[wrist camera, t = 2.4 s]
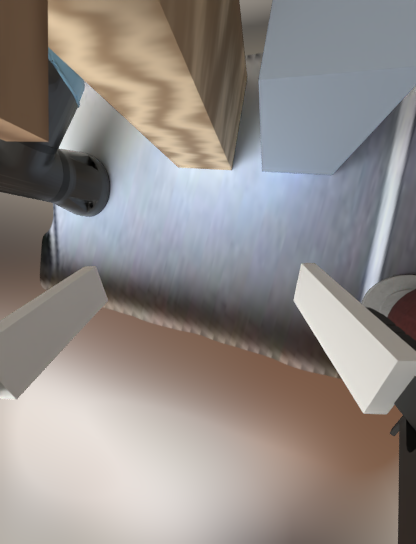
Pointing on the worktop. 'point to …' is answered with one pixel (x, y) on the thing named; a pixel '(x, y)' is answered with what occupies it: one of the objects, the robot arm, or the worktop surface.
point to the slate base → (331, 78)
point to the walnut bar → (24, 71)
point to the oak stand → (161, 69)
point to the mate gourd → (395, 301)
